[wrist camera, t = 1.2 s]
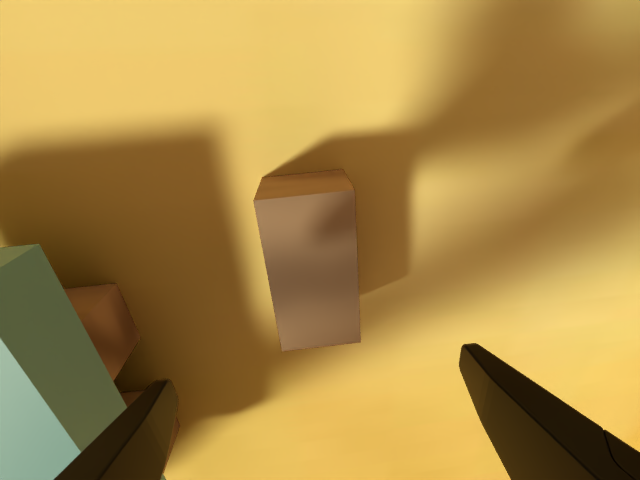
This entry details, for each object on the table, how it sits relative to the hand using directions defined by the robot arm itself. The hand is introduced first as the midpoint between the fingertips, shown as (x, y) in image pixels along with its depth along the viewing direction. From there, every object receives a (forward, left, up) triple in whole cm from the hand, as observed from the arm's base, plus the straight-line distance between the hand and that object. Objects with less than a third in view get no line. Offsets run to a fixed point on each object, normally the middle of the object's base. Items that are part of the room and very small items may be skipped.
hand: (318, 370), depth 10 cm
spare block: (0, 0, -9) cm, 9 cm away
